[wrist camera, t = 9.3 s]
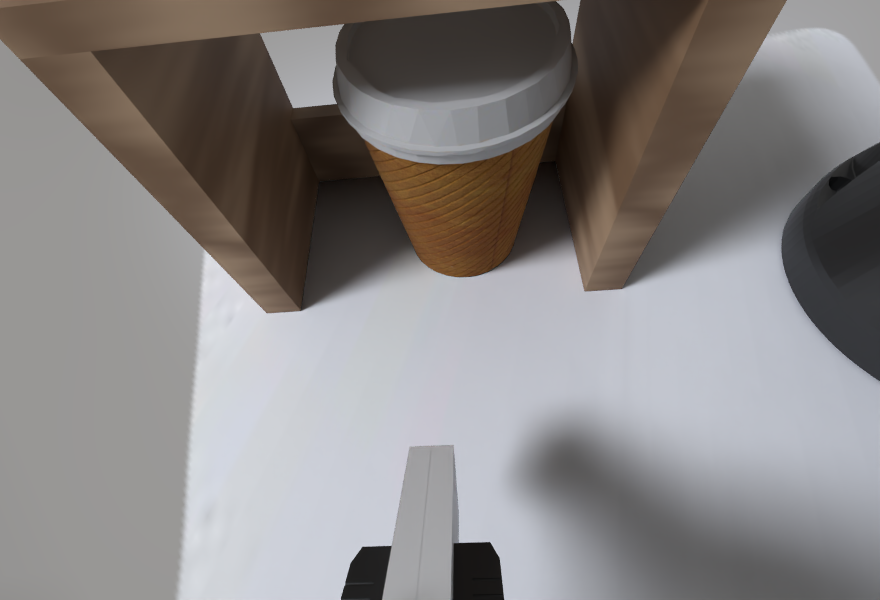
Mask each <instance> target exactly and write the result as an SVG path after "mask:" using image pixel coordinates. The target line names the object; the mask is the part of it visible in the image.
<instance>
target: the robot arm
mask: <svg viewBox="0 0 880 600" xmlns="http://www.w3.org/2000/svg"><path fill="white" fill-rule="evenodd" d="M782 259H783V265H784V269H785V273H786V276H787V278H788V281H789V284H790V286H791V288H792V290H793V292H794V294H795V296H796V298H797V300H798V302H799V303H800V305H801V306H802V308H803V309H804V311H805V312H806V314H807V315H808V316H809V318H810V319H811V321H812V322H813V323H814V324H815V325H816V327H817V328H818V329H819V330H820V331H821V332H822V333H823V334H824V336H825V337H826V338H827V339H828V340H829V341H830V342H831V343H832V344H833V345H834V346H835V347H836V348H838V349H839V350H840V351H841V352H842V353H843V354H844V355H845V356H847V357H848V358H849V359H850V360H851V361H853V362H854V363H855V364H857V365H858V366H859V367H860V368H862V369H863V370H864V371H866V372H867V373H869V374H870V375H872V376H873V377H874V378H876V379H878V380H879V381H880V142H879V143H877V144H875V145H874V146H872V147H870V148H868V149H866V150H864V151H863V152H861V153H859V154H857V155H855V156H854V157H852V158H850V159H848V160H847V161H845V162H843V163H842V164H840V165H839V166H837V167H836V168H834V169H833V170H832V171H831V172H829V173H828V174H827V175H826V176H825V177H823V178H822V179H821V180H820V181H819V182H818V183H817V184H816V185H815V187H814V188H813V189H812V190H811V191H810V192H809V193H808V194H807V195H806V196H805V197H804V198H803V199H802V200H801V201H800V202H799V203H798V204H797V205H796V207H795V208H794V209H793V211H792V212H791V214H790V216H789V217H788V219H787V222H786V224H785V227H784V231H783V236H782ZM341 600H504V595H503V585H502V576H501V566H500V558H499V557H498V555H497V553H496V551H495V550H494V548H493V546H492V545H491V543H490V542H482V543H459V510H458V497H457V484H456V471H455V458H454V445H442V446H417V447H410V448H409V453H408V459H407V464H406V470H405V475H404V481H403V487H402V492H401V498H400V503H399V509H398V514H397V520H396V525H395V531H394V536H393V542H392V546H376V547H362V548H361V550H360V551H359V553H358V554H357V555H356V557H355V558H354V559H353V561H352V562H351V564H350V568H349V571H348V575H347V579H346V582H345V586H344V589H343V593H342V596H341Z"/></svg>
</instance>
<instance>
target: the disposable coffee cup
mask: <svg viewBox="0 0 880 600" xmlns="http://www.w3.org/2000/svg"><path fill="white" fill-rule="evenodd" d="M577 73H578V59H577V55H576V52H575V48H574V46H573V45H572V43H571V31H570V23H569V19H568V17H567V15H566V13H565V11H564V9H563V8H562V7H561V6H560V5H559V4H558V3H557V2H556V1H550V2H541V3H532V4H523V5H513V6H504V7H495V8H486V9H477V10H468V11H458V12H449V13H440V14H431V15H422V16H412V17H403V18H394V19H385V20H376V21H366V22H357V23H348V24H344V26H343V27H342V29H341V30H340V32H339V35H338V39H337V42H336V67H335V72H334V77H333V91H334V98H335V100H336V102H337V105H338V107H339V109H340V112H341V113H342V115H343V116H344V117H345V119H346V120H347V121H348V123H349V124H350V125H351V126H352V127H353V128H355V129H356V130H357V132H358V133H359V134H360V136H361V137H362V138H363V139H365V144H366V146H367V148H368V150H370V151H369V152H370V154H371V157H372V159H373V161H375V162H374V163H375V166H376V168H377V170H378V171H379V174H380V176H381V178H382V180H383V183H384V185H385V187H386V189H387V191H388V193H389V195H390V197H391V200H392V202H393V204H394V206H395V209H396V211H397V212H398V215H399V217H400V219H401V221H402V223H403V225H404V228H405V230H406V232H407V234H408V236H409V238H410V241H411V243H412V245H413V247H414V249H415V252H416V254H417V256H418V257H419V258H420V260H421V261H422V262H423V263H424V264H425V265H427V266H428V267H429V268H431V269H433V270H434V271H436V272H438V273H441V274H444V275H448V276H454V277H470V276H476V275H480V274H482V273H485V272H488V271H490V270H491V269H493V268H495V267H496V266H498V265H499V264H500V263H501V262H503V261H504V260H505V258H506V257H507V256H508V255H509V253H510V252H511V249H512V247H513V245H514V241H515V238H516V235H517V232H518V228H519V226H520V223H521V219H522V216H523V213H524V210H525V207H526V204H527V201H528V198H529V195H530V192H531V188H532V186H533V182H534V179H535V176H536V173H537V169H538V166H539V163H540V160H541V158H542V155H543V151H544V148H545V145H546V142H547V139H548V136H549V133H550V129H551V126H552V123H553V120H554V118H555V117H556V116H557V114H558V113H559V112H560V109H561V108H562V107H563V106H564V105H565V103H566V102H567V100H568V98H569V96H570V95H571V93H572V91H573V88H574V85H575V81H576V77H577Z"/></svg>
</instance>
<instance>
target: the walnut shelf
mask: <svg viewBox="0 0 880 600" xmlns="http://www.w3.org/2000/svg"><path fill="white" fill-rule="evenodd" d="M550 1H559V0H0V39H1V40H2V42H3V43H4V44H5V45H6V46H7V47H9V49H10V50H11V51H12V52H13V53H14V54H15V55H16V56H17V57H18V58H19V59H20V60H21V61H22V62H23V63H24V64H25V65H26V66H27V67H28V68H29V69H30V70H31V71H32V72H33V73H34V74H35V75H36V76H37V78H38V79H40V81H41V82H43V84H44V85H45V86H46V87H47V88H48V89H49V90H50V91H51V92H52V93H53V94H54V95H55V96H56V97H57V98H58V99H59V100H60V101H61V102H62V103H63V104H64V105H65V106H66V107H67V108H68V109H69V110H70V111H71V112H72V113H73V115H74V116H75V117H76V118H77V119H78V120H79V121H81V123H82V124H83V125H84V126H85V127H86V128H87V129H88V130H89V131H90V132H91V133H92V134H93V135H94V136H95V137H96V138H97V139H98V140H99V141H100V142H101V143H102V144H103V145H104V146H105V147H106V148H107V149H108V150H109V151H110V152H111V153H112V155H113V156H114V157H116V159H117V160H118V161H119V162H120V163H121V164H122V165H123V166H124V167H125V168H126V169H127V170H128V171H129V172H130V173H131V174H132V175H133V176H134V177H135V178H136V179H137V180H138V181H139V182H140V183H141V184H142V185H143V186H144V187H145V189H147V190H148V192H149V193H150V194H151V195H152V196H153V197H154V198H155V199H156V200H157V201H158V202H159V203H160V204H161V205H162V206H163V207H164V208H165V209H166V210H167V211H168V212H169V213H170V214H171V215H172V216H173V217H174V218H175V219H176V220H177V221H178V222H179V223H180V224H181V226H182V227H183V228H184V229H185V230H186V231H187V232H188V233H189V234H190V235H191V236H192V237H193V238H194V239H195V240H196V241H197V242H198V243H199V244H200V245H201V246H202V247H203V248H204V249H205V250H206V251H207V252H208V253H209V254H210V255H211V256H212V257H213V258H214V259H215V260H216V261H217V263H218V264H219V265H220V266H221V267H222V268H223V269H224V270H225V271H226V272H227V273H228V274H229V275H230V276H231V277H232V278H233V279H234V280H235V281H236V282H237V283H238V284H239V285H240V286H241V287H242V288H243V289H244V290H245V291H246V292H247V293H248V294H249V295H250V296H251V297H252V298H253V300H254V301H255V302H256V303H257V304H258V305H259V306H260V307H261V308H262V309H263V310H264V311H265V312H266V313H276V312H290V311H301V305H302V298H303V291H304V284H305V277H306V270H307V263H308V256H309V249H310V242H311V235H312V228H313V221H314V214H315V207H316V200H317V193H318V186H319V182H320V181H331V180H343V179H354V178H366V177H377V176H380V174H379V171H378V170H377V168H376V166H375V163H374V162H375V161H373V159H372V157H371V154H370V152H369V151H370V150H368V148H367V146H366V144H365V139H363V138H362V137H361V136H360V134H359V133H358V132H357V130H356V129H355V128H353V127H352V126H351V125H350V124H349V123H348V121H347V120H346V119H345V117H344V116H343V115H342V113H341V112H340V109H339V107H338V105H337V104H333V105H322V106H312V107H303V108H293V107H292V105H291V103H290V100H289V98H288V96H287V94H286V91H285V89H284V87H283V85H282V82H281V80H280V78H279V76H278V73H277V71H276V69H275V67H274V64H273V62H272V60H271V58H270V56H269V53H268V51H267V49H266V46H265V44H264V42H263V40H262V37H261V35H260V33H265V32H275V31H283V30H293V29H302V28H310V27H319V26H320V27H321V26H329V25H338V24H348V23H357V22H366V21H376V20H385V19H394V18H403V17H412V16H422V15H431V14H440V13H449V12H458V11H468V10H477V9H486V8H495V7H504V6H513V5H523V4H532V3H541V2H550ZM786 1H787V0H581V1H580V6H579V12H578V17H577V23H576V28H575V34H574V39H573V44H572V45H573V46H574V48H575V52H576V55H577V59H578V73H577V77H576V81H575V85H574V88H573V91H572V93H571V95H570V96H569V98H568V100H567V102H566V103H565V105H564V106H563V107H562V108H561V109H560V112H559V113H558V114H557V116H556V117H555V118H554V120H553V123H552V126H551V129H550V133H549V136H548V139H547V142H546V145H545V148H544V151H543V155H542V158H541V160H540V162H550V161H555V163H556V167H557V172H558V176H559V180H560V185H561V189H562V194H563V198H564V203H565V207H566V211H567V216H568V220H569V225H570V229H571V233H572V238H573V242H574V247H575V251H576V256H577V260H578V264H579V269H580V273H581V278H582V282H583V287H584V291H597V290H612V289H622V287H623V286H624V284H625V282H626V280H627V279H628V277H629V275H630V273H631V272H632V270H633V268H634V266H635V265H636V263H637V261H638V259H639V258H640V256H641V254H642V252H643V251H644V249H645V247H646V245H647V244H648V242H649V240H650V238H651V237H652V235H653V233H654V231H655V230H656V228H657V226H658V225H659V223H660V221H661V219H662V218H663V216H664V214H665V212H666V211H667V209H668V207H669V205H670V204H671V202H672V200H673V198H674V197H675V195H676V193H677V191H678V190H679V188H680V186H681V184H682V183H683V181H684V179H685V177H686V176H687V174H688V172H689V170H690V169H691V167H692V165H693V163H694V162H695V160H696V158H697V156H698V155H699V153H700V151H701V149H702V148H703V146H704V144H705V142H706V141H707V139H708V137H709V135H710V134H711V132H712V130H713V128H714V127H715V125H716V123H717V121H718V120H719V118H720V116H721V114H722V113H723V111H724V109H725V107H726V106H727V104H728V102H729V100H730V99H731V97H732V95H733V93H734V92H735V90H736V88H737V86H738V85H739V83H740V81H741V79H742V78H743V76H744V74H745V72H746V71H747V69H748V67H749V65H750V64H751V62H752V60H753V58H754V57H755V55H756V53H757V52H758V50H759V48H760V46H761V45H762V43H763V41H764V39H765V38H766V36H767V34H768V32H769V31H770V29H771V27H772V25H773V24H774V22H775V20H776V18H777V17H778V15H779V13H780V11H781V10H782V8H783V6H784V4H785V3H786Z"/></svg>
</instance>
